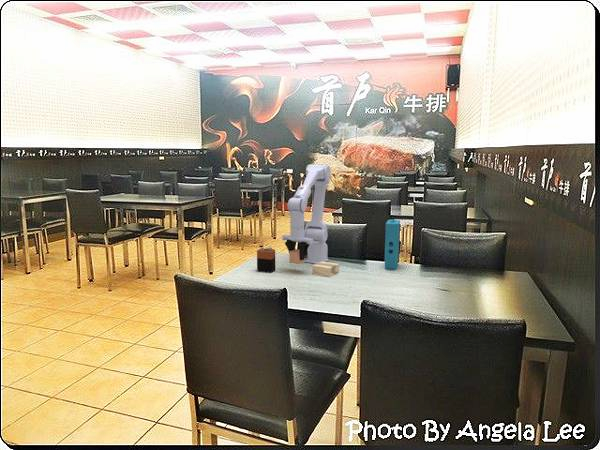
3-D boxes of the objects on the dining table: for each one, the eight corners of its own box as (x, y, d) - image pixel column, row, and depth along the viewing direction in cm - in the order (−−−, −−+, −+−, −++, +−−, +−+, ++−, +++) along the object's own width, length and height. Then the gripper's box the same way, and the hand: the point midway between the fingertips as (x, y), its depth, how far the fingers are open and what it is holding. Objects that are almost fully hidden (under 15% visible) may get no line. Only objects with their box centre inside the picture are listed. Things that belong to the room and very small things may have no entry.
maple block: (322, 270, 188) (322, 261, 188) (338, 273, 184) (339, 264, 183) (312, 274, 182) (312, 265, 181) (329, 277, 177) (329, 268, 177)
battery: (271, 273, 183) (271, 249, 182) (256, 271, 186) (256, 248, 184) (275, 270, 187) (275, 247, 186) (261, 268, 190) (261, 246, 188)
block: (387, 263, 200) (388, 219, 196) (398, 264, 198) (400, 220, 195) (383, 270, 188) (385, 223, 185) (395, 271, 187) (397, 224, 184)
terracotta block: (296, 260, 188) (296, 249, 187) (304, 262, 185) (304, 250, 184) (289, 262, 184) (289, 251, 184) (298, 264, 182) (298, 252, 181)
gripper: (277, 226, 184) (277, 258, 186) (305, 229, 175) (305, 263, 177) (288, 224, 189) (288, 255, 191) (315, 227, 181) (315, 260, 183)
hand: (297, 258), depth 185 cm, fingers closed on terracotta block, 4 cm apart
